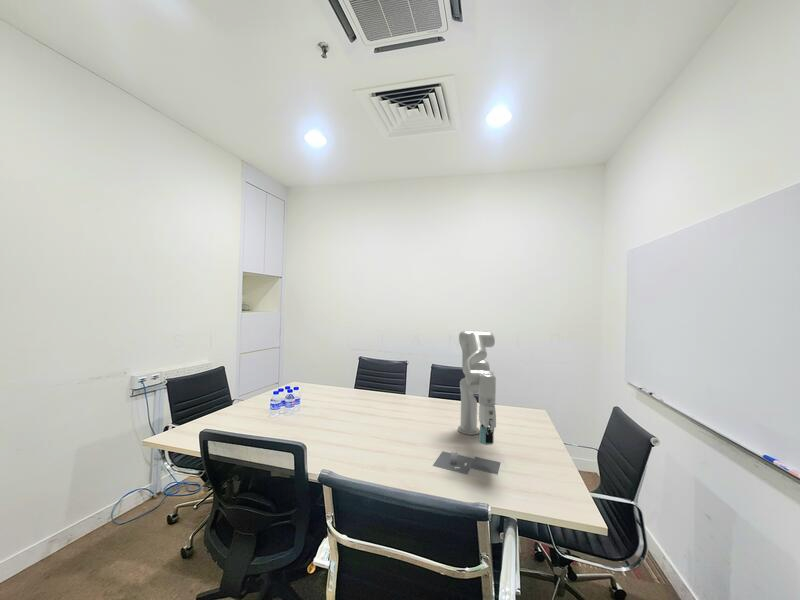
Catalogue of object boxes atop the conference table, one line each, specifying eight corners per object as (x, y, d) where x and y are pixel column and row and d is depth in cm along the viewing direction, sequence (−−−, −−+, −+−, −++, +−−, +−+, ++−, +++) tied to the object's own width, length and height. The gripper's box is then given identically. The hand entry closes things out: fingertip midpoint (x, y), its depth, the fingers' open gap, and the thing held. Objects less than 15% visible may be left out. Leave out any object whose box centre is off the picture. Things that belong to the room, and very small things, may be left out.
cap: (477, 439, 147) (477, 425, 147) (489, 439, 148) (490, 425, 148) (482, 444, 141) (482, 430, 141) (495, 444, 142) (495, 430, 142)
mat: (475, 457, 152) (475, 456, 152) (500, 463, 147) (500, 462, 147) (470, 469, 141) (470, 467, 141) (497, 475, 136) (497, 474, 136)
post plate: (442, 452, 157) (442, 442, 157) (474, 459, 150) (474, 449, 151) (432, 466, 142) (432, 456, 143) (467, 475, 136) (467, 464, 136)
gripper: (502, 406, 137) (501, 447, 136) (487, 395, 154) (487, 432, 153) (486, 406, 136) (485, 448, 135) (473, 395, 153) (472, 432, 153)
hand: (486, 439), depth 144 cm, fingers closed on cap, 6 cm apart
